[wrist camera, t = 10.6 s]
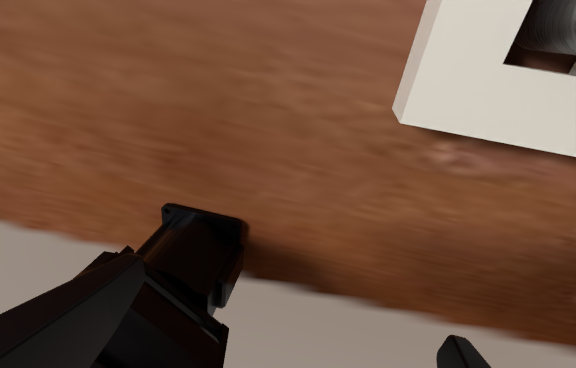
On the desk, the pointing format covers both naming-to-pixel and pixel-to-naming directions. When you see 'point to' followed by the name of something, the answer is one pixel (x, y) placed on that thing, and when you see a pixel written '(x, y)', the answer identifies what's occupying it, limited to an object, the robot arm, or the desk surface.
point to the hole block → (484, 79)
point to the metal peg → (549, 27)
